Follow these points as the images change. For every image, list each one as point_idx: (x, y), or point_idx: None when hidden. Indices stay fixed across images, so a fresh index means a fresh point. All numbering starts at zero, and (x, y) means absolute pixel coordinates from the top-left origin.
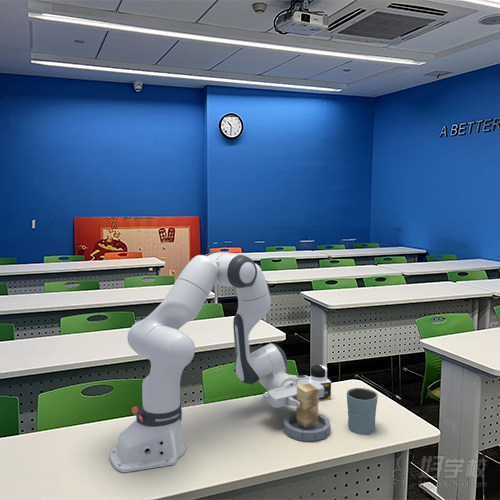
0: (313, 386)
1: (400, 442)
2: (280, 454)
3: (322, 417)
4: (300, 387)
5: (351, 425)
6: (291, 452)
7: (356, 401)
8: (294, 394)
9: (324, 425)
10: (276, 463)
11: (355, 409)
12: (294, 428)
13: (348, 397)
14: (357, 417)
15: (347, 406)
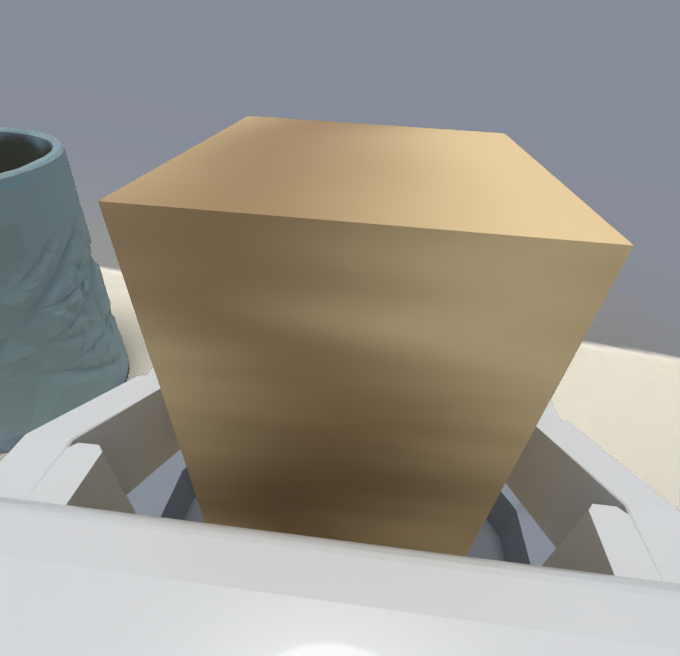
0: (217, 142)
1: (100, 267)
2: (645, 431)
3: (152, 513)
4: (529, 191)
5: (107, 368)
6: (572, 415)
7: (68, 168)
8: (545, 573)
9: (193, 499)
10: (676, 388)
11: (84, 239)
12: (517, 499)
13: (19, 191)
14: (102, 281)
15: (14, 307)
